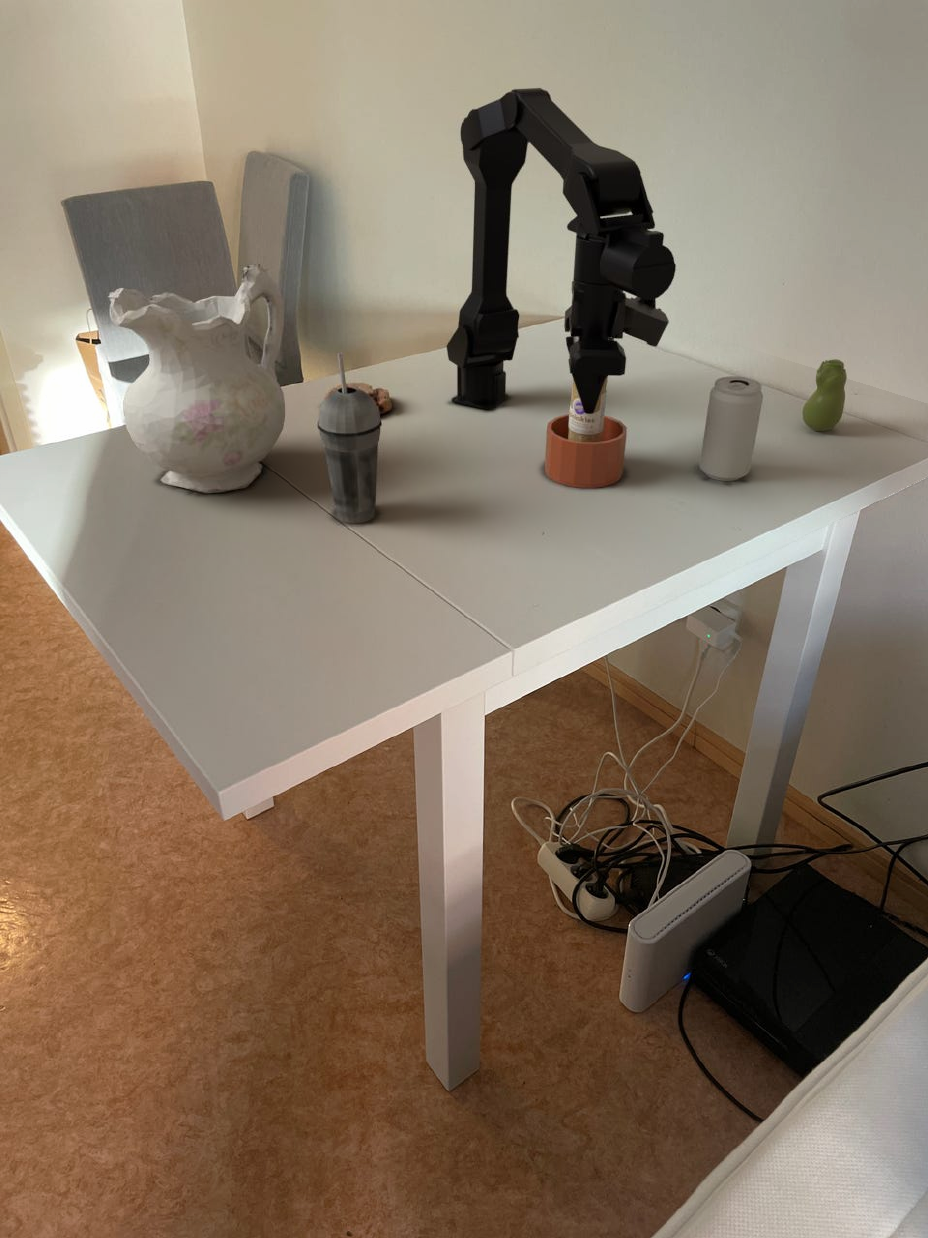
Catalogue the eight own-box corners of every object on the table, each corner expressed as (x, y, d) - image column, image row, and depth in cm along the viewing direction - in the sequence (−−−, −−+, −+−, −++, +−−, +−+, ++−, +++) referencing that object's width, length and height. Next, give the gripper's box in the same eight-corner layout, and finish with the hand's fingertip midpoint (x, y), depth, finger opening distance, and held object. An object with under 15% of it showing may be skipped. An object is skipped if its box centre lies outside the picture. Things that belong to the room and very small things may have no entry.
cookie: (337, 392, 149) (336, 373, 147) (402, 399, 146) (402, 380, 145) (312, 416, 141) (310, 396, 139) (380, 423, 138) (379, 403, 137)
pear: (833, 439, 134) (849, 369, 128) (794, 432, 136) (809, 362, 130) (842, 426, 138) (857, 357, 132) (804, 419, 140) (818, 351, 134)
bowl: (531, 476, 124) (533, 433, 120) (565, 449, 131) (568, 407, 127) (603, 494, 119) (607, 449, 116) (634, 465, 127) (638, 422, 123)
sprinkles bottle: (562, 456, 123) (569, 354, 115) (571, 441, 126) (579, 341, 118) (596, 462, 122) (606, 359, 114) (605, 447, 125) (615, 346, 117)
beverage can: (753, 467, 126) (769, 378, 119) (743, 487, 121) (759, 395, 115) (704, 458, 128) (718, 371, 122) (693, 477, 123) (706, 387, 117)
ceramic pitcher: (237, 436, 137) (201, 253, 124) (339, 459, 127) (311, 262, 114) (112, 491, 123) (57, 290, 110) (216, 522, 112) (168, 305, 100)
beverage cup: (395, 506, 117) (388, 342, 106) (371, 533, 111) (361, 363, 100) (341, 497, 119) (328, 336, 108) (314, 523, 113) (298, 356, 102)
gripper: (679, 302, 104) (661, 437, 112) (658, 259, 119) (644, 381, 128) (575, 300, 104) (566, 435, 113) (568, 257, 119) (560, 379, 128)
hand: (587, 406), depth 120 cm, fingers closed on sprinkles bottle, 4 cm apart
